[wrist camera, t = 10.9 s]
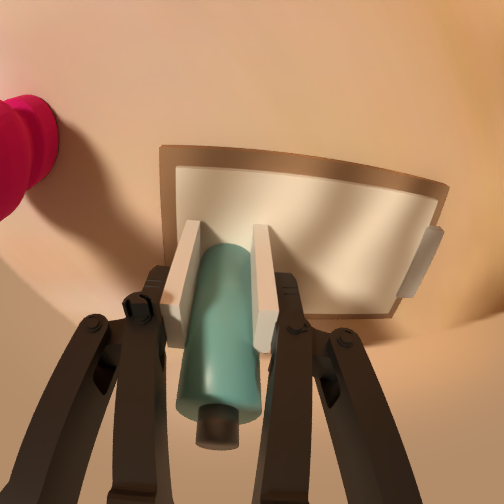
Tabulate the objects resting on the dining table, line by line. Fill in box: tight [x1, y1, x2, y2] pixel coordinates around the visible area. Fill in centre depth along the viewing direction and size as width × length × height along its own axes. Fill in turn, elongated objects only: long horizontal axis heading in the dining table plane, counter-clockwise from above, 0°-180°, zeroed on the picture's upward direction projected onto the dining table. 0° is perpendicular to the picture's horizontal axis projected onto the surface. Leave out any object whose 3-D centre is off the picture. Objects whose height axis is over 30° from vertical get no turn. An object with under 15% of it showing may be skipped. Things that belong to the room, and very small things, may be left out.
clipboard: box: [159, 145, 450, 319], centre depth 18 cm, size 18×12×1 cm, turn 84°
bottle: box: [176, 243, 262, 450], centre depth 13 cm, size 3×3×11 cm
